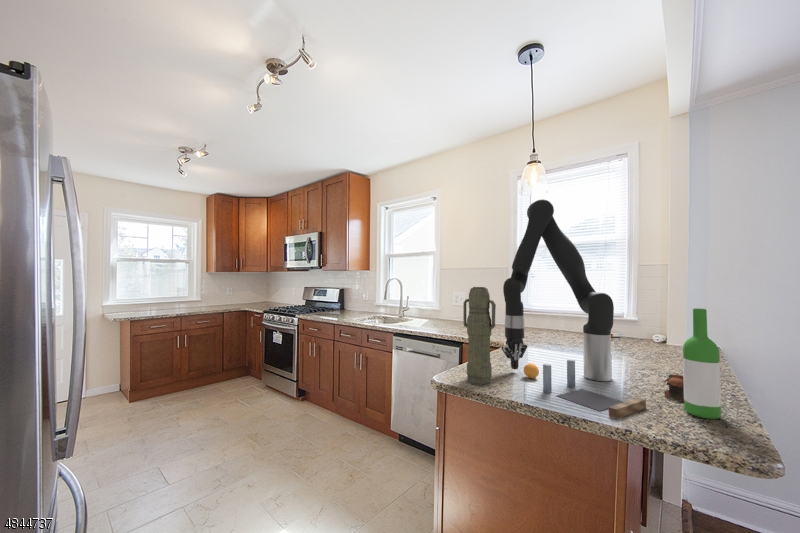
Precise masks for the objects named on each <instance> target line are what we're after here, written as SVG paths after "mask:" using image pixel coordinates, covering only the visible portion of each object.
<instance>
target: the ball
mask: <svg viewBox="0 0 800 533" xmlns="http://www.w3.org/2000/svg"><path fill="white" fill-rule="evenodd" d="M523 373H524V375H525V376H526V377H527V378H530V379H536V378H537V377H538V376H539V374H540V371H539V367H538V366H537V365H536V364H534V363H527V364H526V365H524V367H523Z"/></svg>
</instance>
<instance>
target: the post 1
mask: <svg viewBox="0 0 800 533" xmlns="http://www.w3.org/2000/svg"><path fill="white" fill-rule="evenodd" d="M542 392H544V393H545V394H552V364H549V363H543V364H542Z"/></svg>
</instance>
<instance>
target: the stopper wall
mask: <svg viewBox="0 0 800 533" xmlns="http://www.w3.org/2000/svg"><path fill="white" fill-rule="evenodd" d="M644 409H647V399H646V398H642V397H636V398H632V399H629V400H627V401H626V400H625V401H623V403H620V404H617V405H614V406H611V407H609V409H608V417H610V418H613V419H616V420H617V419H620V418H622V417H625V416H628V415H631V414H634V413H636V412H639V411H641V410H644Z"/></svg>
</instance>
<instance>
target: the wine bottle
mask: <svg viewBox="0 0 800 533" xmlns="http://www.w3.org/2000/svg"><path fill="white" fill-rule="evenodd" d="M707 314H708V312H707V309H706V308H692V336H691V337H688V338H687V339H686V340H685V342H684V343H683V346H682V369H683V371H682V372H683V375H682V376H683V379H684V402H683V407H684V410H685V411H686V413H688V414H690V415H692V416H695V417H698V418H703V419H708V420H717V419H719V418H720V417H721V416H722V397H721V396H722V395H721V394H722V393H721V392H722V390H721V387H722V386H721V360H720V349H719V347H718V346H717V344H716V343H715V342H714V341H713V340H712V339H711V338H709V336H708V315H707Z"/></svg>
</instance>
